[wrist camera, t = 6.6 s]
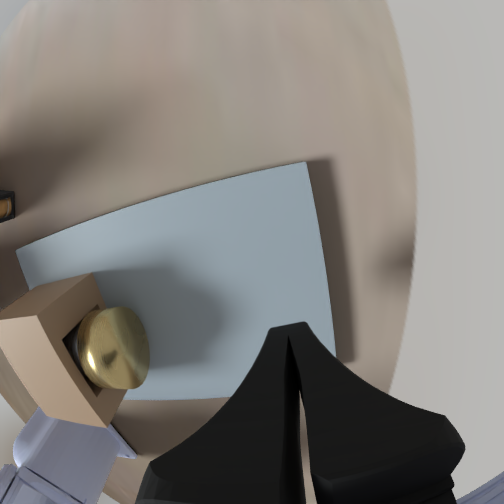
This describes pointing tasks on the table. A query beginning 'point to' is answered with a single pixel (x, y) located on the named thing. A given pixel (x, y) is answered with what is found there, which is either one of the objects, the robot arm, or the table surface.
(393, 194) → the table surface
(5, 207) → the ammunition clip
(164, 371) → the mounting board
